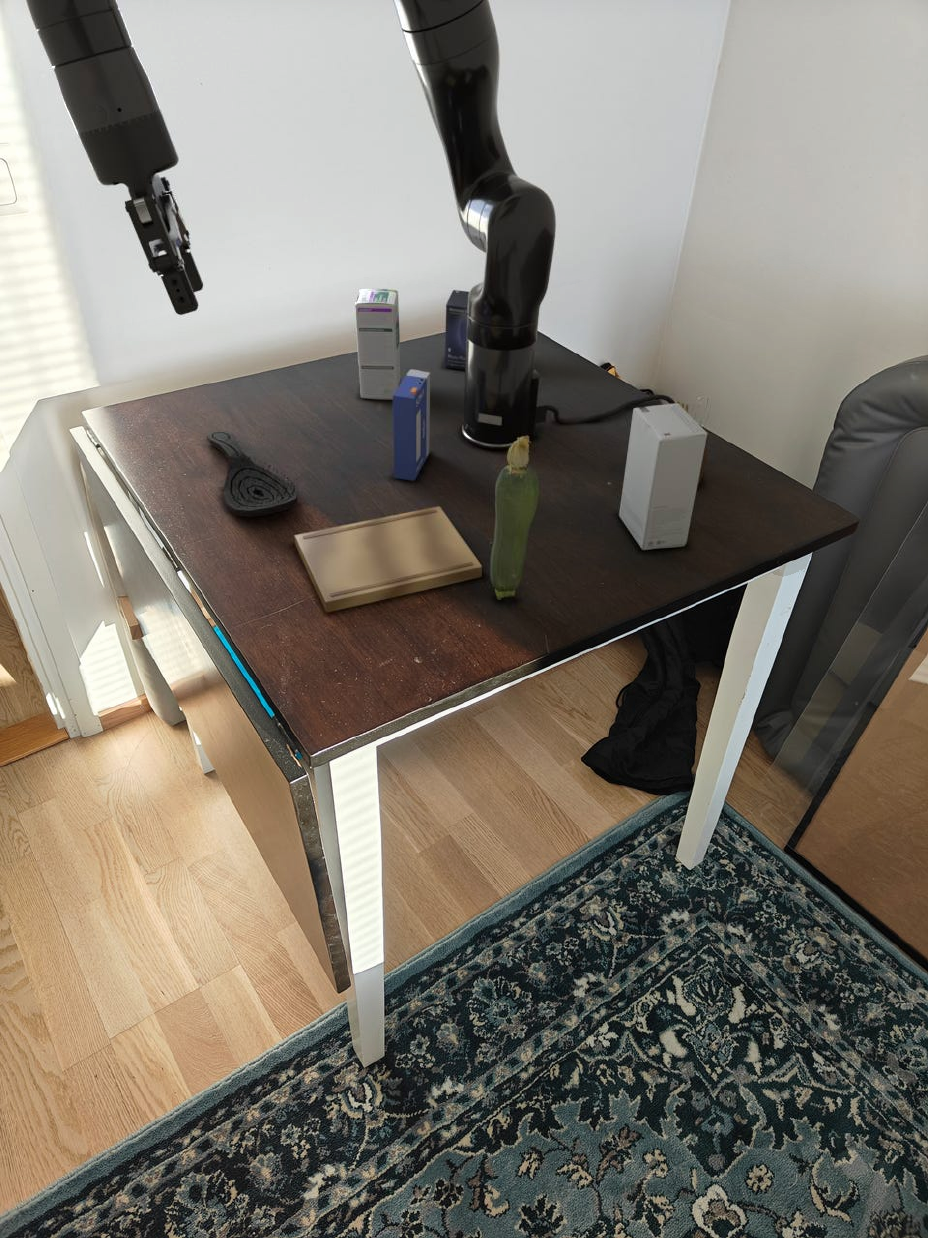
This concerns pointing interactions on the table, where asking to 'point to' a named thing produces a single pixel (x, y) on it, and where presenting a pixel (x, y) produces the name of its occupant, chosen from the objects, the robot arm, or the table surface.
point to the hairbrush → (250, 481)
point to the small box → (456, 330)
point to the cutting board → (385, 558)
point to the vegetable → (513, 518)
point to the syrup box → (378, 342)
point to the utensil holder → (706, 438)
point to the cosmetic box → (661, 475)
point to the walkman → (411, 424)
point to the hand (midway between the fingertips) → (191, 301)
